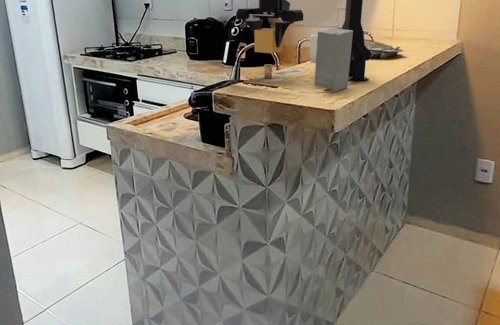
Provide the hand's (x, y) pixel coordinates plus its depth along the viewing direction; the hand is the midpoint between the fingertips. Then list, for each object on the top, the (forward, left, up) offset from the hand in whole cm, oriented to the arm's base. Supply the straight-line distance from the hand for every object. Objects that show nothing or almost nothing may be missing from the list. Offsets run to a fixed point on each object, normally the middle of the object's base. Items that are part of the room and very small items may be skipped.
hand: (268, 46), depth 138 cm
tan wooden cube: (0, 0, -1) cm, 1 cm away
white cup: (+27, -27, -11) cm, 39 cm away
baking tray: (+44, -53, -11) cm, 70 cm away
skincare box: (-12, -15, -11) cm, 22 cm away
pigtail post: (0, 0, -9) cm, 9 cm away
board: (+4, -4, -10) cm, 12 cm away
